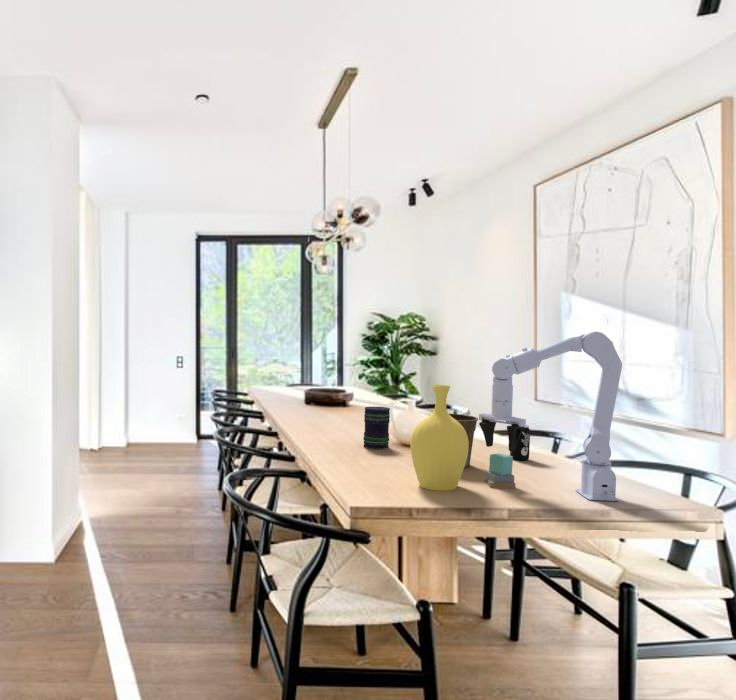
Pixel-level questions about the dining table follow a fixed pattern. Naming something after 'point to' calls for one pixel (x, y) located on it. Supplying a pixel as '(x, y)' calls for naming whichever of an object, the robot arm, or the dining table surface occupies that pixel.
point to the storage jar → (376, 427)
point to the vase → (439, 447)
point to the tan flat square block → (499, 484)
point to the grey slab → (500, 478)
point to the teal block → (500, 464)
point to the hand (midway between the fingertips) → (500, 448)
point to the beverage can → (522, 446)
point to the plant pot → (467, 430)
